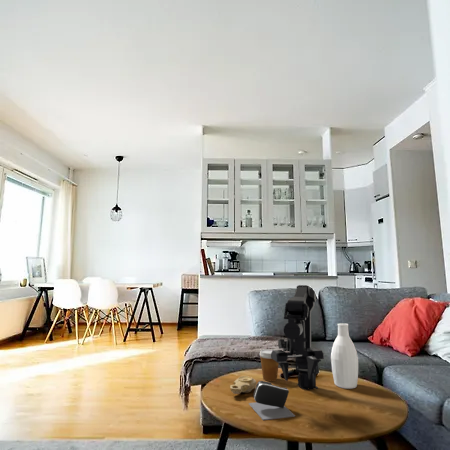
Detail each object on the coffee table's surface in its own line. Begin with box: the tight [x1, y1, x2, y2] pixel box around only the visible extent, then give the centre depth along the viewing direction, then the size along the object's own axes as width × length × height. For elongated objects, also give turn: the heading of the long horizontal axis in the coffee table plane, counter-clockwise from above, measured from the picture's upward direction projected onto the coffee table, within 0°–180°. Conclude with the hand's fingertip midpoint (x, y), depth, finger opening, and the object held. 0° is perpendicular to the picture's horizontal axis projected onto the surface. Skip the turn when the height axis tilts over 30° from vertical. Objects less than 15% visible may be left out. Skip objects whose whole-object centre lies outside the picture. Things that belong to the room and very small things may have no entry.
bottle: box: [330, 322, 359, 390], centre depth 144 cm, size 11×11×25 cm
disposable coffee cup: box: [259, 348, 280, 382], centre depth 151 cm, size 10×10×12 cm
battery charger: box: [253, 380, 290, 408], centre depth 118 cm, size 7×4×11 cm
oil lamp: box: [229, 375, 258, 395], centre depth 134 cm, size 11×14×5 cm
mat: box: [248, 401, 296, 421], centre depth 117 cm, size 12×14×1 cm
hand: (298, 379), depth 121 cm, fingers open, 9 cm apart
